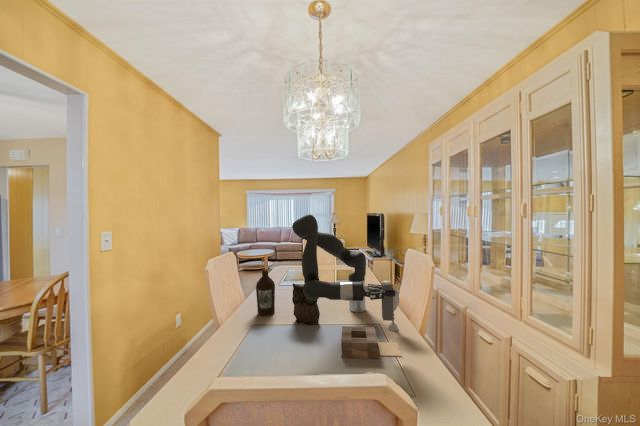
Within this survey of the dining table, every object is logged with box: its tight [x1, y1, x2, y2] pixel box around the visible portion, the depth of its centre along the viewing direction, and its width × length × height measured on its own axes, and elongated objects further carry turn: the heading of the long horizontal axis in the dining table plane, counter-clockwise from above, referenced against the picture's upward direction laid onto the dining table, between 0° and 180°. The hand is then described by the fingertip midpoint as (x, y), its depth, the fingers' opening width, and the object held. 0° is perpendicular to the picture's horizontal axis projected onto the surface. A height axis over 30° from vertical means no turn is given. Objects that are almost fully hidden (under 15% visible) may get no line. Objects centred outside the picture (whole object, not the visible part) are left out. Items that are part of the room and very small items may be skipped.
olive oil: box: [255, 268, 276, 317], centre depth 148 cm, size 11×11×25 cm
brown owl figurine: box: [291, 282, 321, 326], centre depth 135 cm, size 13×13×20 cm
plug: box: [380, 280, 395, 322], centre depth 105 cm, size 4×4×15 cm
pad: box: [378, 341, 402, 358], centre depth 105 cm, size 10×8×1 cm
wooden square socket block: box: [340, 326, 379, 360], centre depth 107 cm, size 14×14×6 cm
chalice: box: [387, 288, 400, 332], centre depth 124 cm, size 7×7×18 cm
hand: (393, 291), depth 105 cm, fingers closed on plug, 4 cm apart
